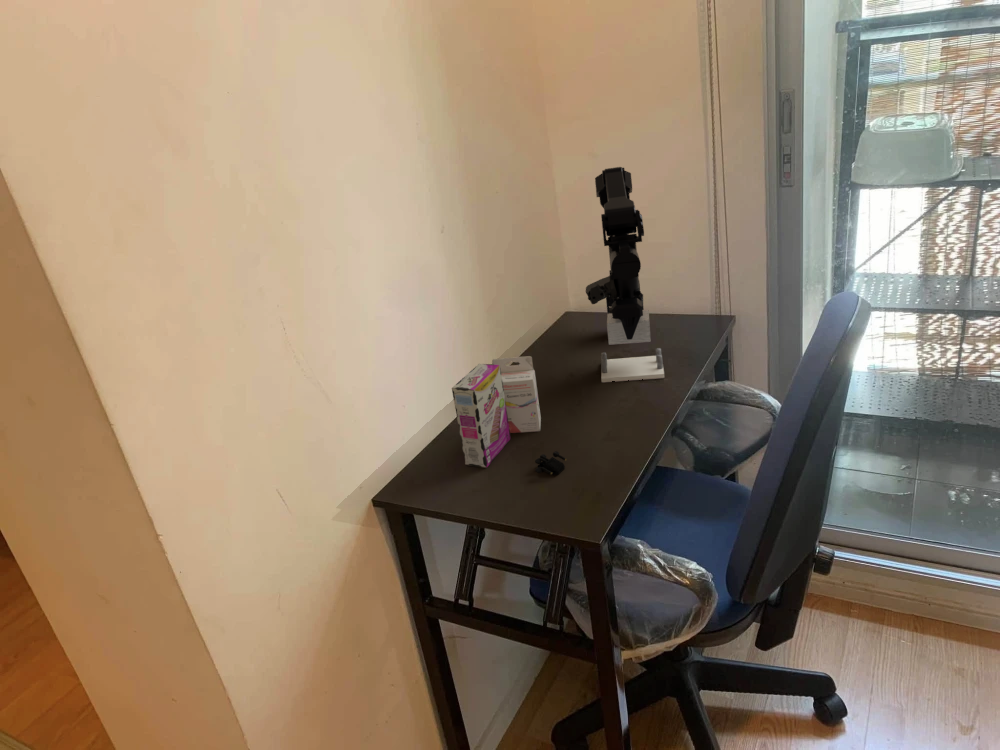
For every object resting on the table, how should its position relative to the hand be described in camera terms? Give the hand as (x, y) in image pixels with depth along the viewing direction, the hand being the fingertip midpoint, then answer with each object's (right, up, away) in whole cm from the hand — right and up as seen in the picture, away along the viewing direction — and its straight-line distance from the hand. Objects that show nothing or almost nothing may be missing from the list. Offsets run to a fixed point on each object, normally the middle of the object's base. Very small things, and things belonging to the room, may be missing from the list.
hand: (629, 333), depth 154 cm
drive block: (0, -1, 0) cm, 1 cm away
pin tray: (+1, -8, +4) cm, 9 cm away
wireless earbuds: (-19, -27, -28) cm, 43 cm away
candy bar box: (-31, -24, -20) cm, 44 cm away
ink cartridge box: (-24, -20, -12) cm, 34 cm away
